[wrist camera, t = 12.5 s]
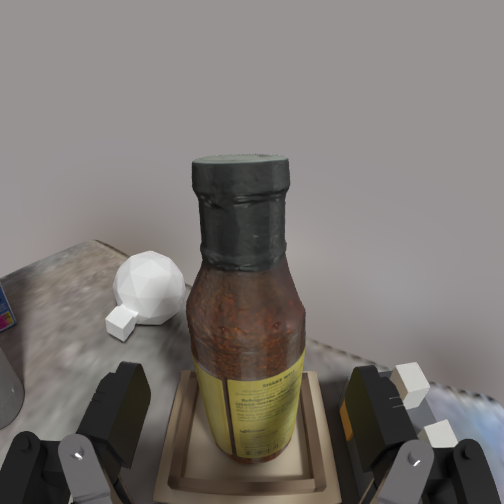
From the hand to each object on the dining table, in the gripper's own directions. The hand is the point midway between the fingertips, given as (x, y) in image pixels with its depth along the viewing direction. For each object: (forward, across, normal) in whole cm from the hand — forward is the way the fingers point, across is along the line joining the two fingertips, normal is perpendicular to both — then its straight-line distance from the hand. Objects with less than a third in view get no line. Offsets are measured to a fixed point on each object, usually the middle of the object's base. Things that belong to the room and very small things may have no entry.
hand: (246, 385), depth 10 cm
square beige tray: (+5, 0, +13) cm, 14 cm away
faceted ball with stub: (+20, +13, +13) cm, 27 cm away
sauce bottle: (+5, 0, +12) cm, 13 cm away
